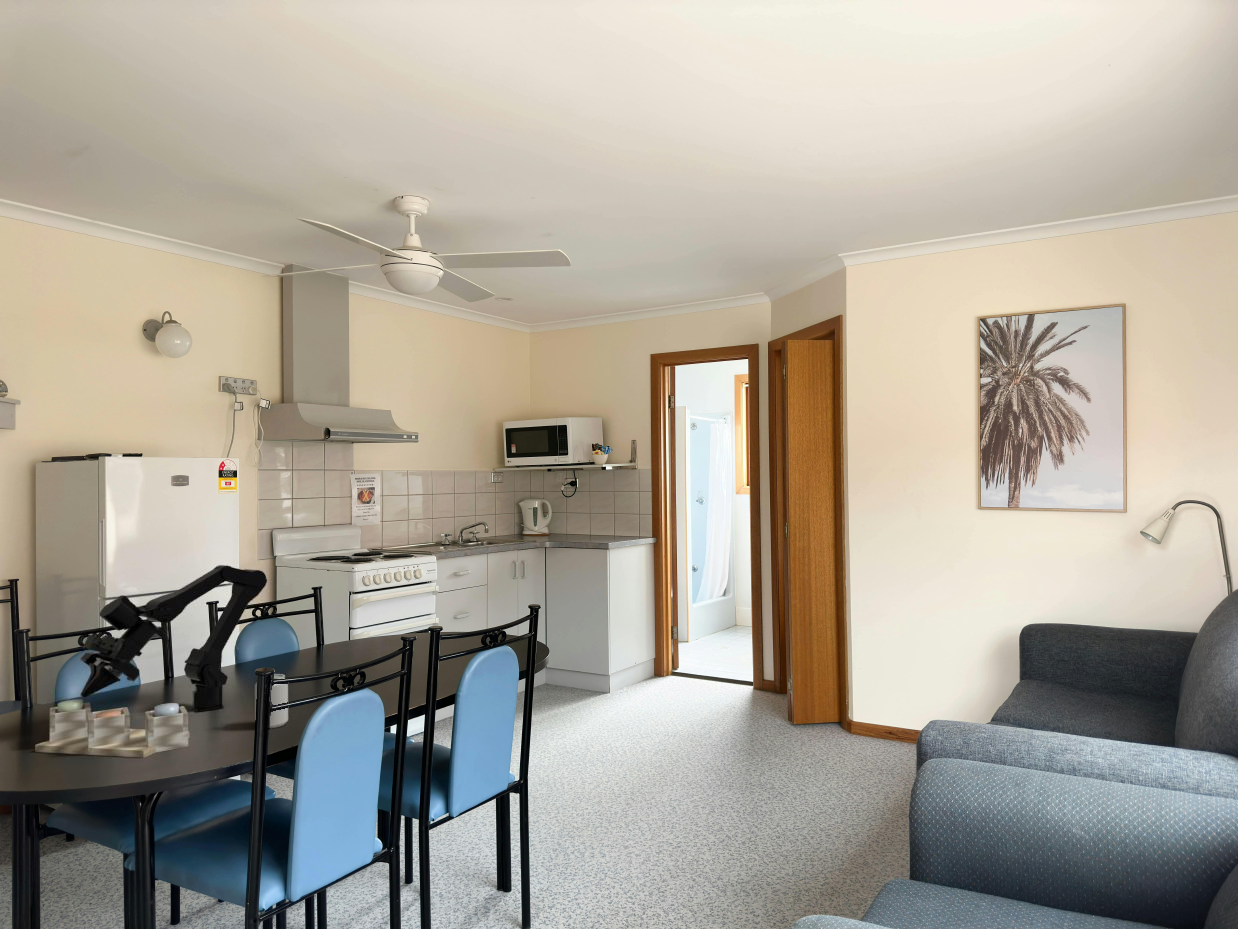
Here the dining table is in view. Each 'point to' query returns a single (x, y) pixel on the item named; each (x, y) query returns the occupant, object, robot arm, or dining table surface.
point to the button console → (114, 733)
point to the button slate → (166, 709)
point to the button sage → (70, 705)
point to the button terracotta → (108, 714)
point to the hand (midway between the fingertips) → (82, 696)
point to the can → (277, 702)
